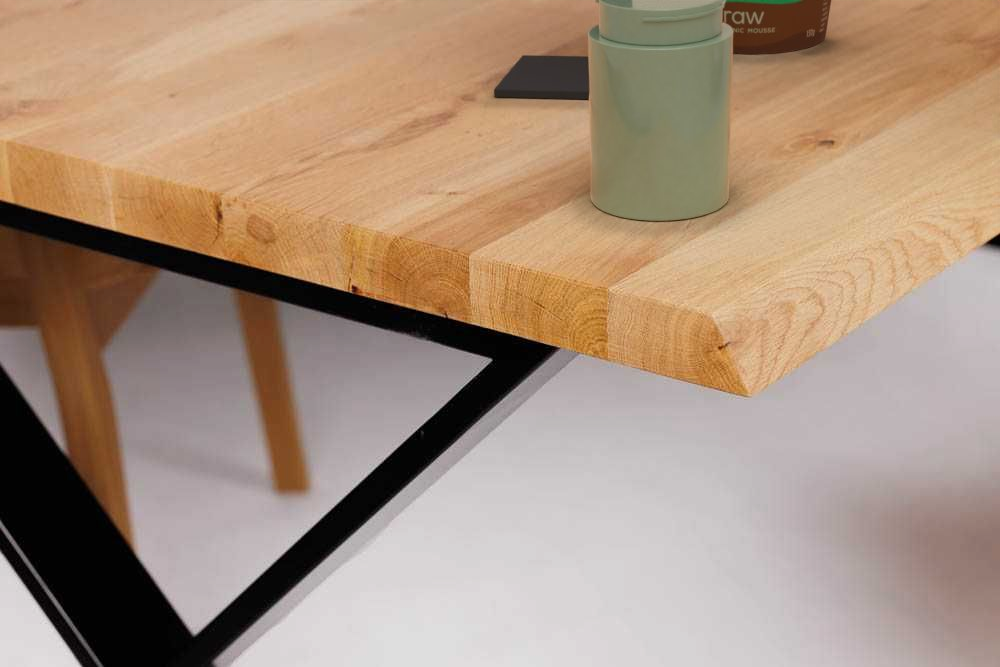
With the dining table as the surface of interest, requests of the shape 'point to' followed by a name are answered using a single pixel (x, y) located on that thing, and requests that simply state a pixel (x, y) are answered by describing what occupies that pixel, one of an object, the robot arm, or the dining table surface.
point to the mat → (546, 78)
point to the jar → (660, 108)
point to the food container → (776, 24)
